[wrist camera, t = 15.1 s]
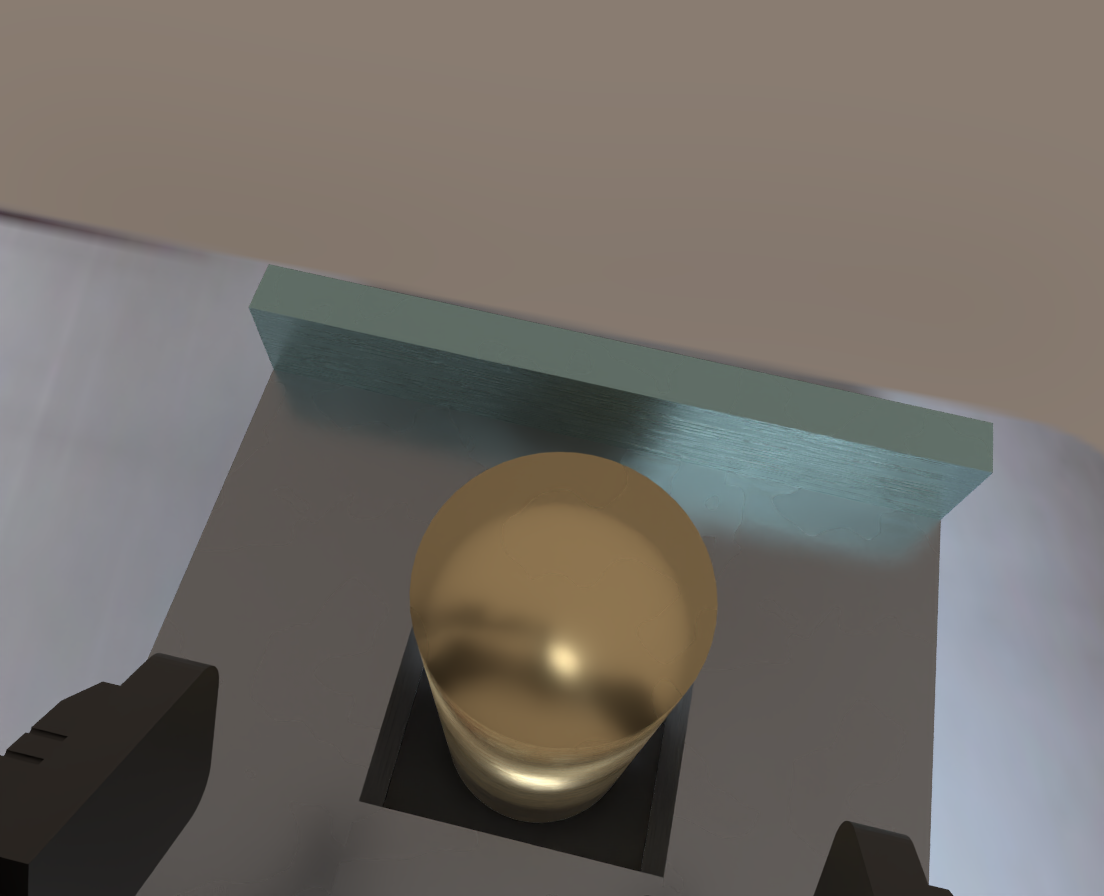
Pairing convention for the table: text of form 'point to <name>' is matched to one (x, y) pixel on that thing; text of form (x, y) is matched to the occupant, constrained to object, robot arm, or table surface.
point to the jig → (392, 651)
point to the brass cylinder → (558, 626)
